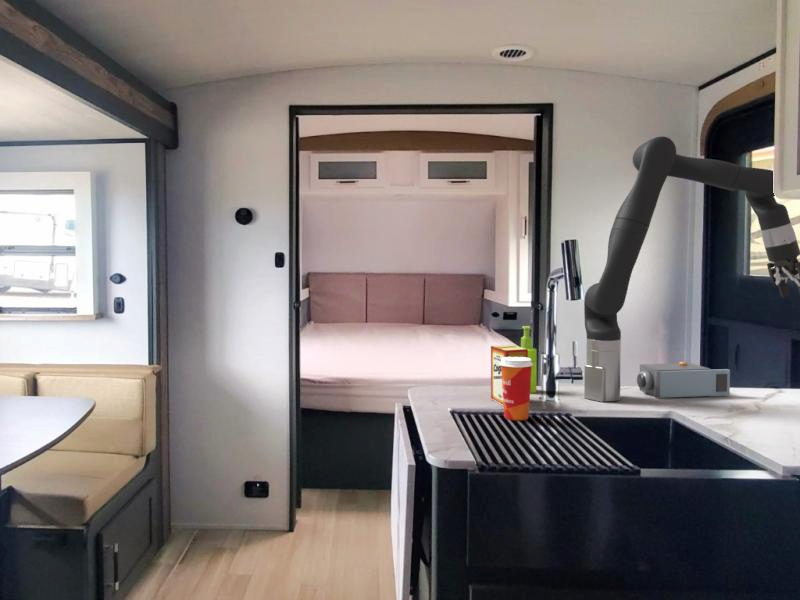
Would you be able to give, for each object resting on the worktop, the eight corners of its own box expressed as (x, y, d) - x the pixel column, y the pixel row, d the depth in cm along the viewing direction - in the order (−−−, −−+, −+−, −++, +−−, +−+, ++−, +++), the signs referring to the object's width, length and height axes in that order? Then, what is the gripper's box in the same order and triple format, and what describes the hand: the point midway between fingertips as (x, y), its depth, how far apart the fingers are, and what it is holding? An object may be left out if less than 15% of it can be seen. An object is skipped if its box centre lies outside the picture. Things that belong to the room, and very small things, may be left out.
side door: (730, 395, 157) (731, 369, 157) (656, 397, 155) (657, 372, 155) (726, 394, 159) (727, 368, 159) (653, 396, 157) (654, 371, 157)
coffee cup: (499, 412, 143) (499, 355, 142) (531, 413, 142) (531, 356, 141) (499, 421, 135) (499, 361, 134) (534, 422, 134) (534, 361, 133)
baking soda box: (527, 405, 150) (527, 347, 149) (506, 407, 148) (506, 349, 148) (511, 398, 159) (511, 343, 158) (491, 399, 158) (490, 344, 157)
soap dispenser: (534, 388, 171) (534, 325, 170) (537, 393, 164) (537, 327, 163) (515, 388, 172) (515, 325, 171) (518, 393, 165) (517, 327, 164)
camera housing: (710, 395, 159) (710, 365, 158) (649, 398, 157) (649, 367, 157) (689, 388, 169) (689, 360, 168) (631, 390, 167) (632, 362, 167)
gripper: (751, 247, 160) (767, 300, 161) (783, 245, 146) (799, 303, 146) (777, 239, 159) (792, 292, 160) (811, 236, 145) (827, 294, 146)
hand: (796, 297), depth 153 cm, fingers open, 8 cm apart
